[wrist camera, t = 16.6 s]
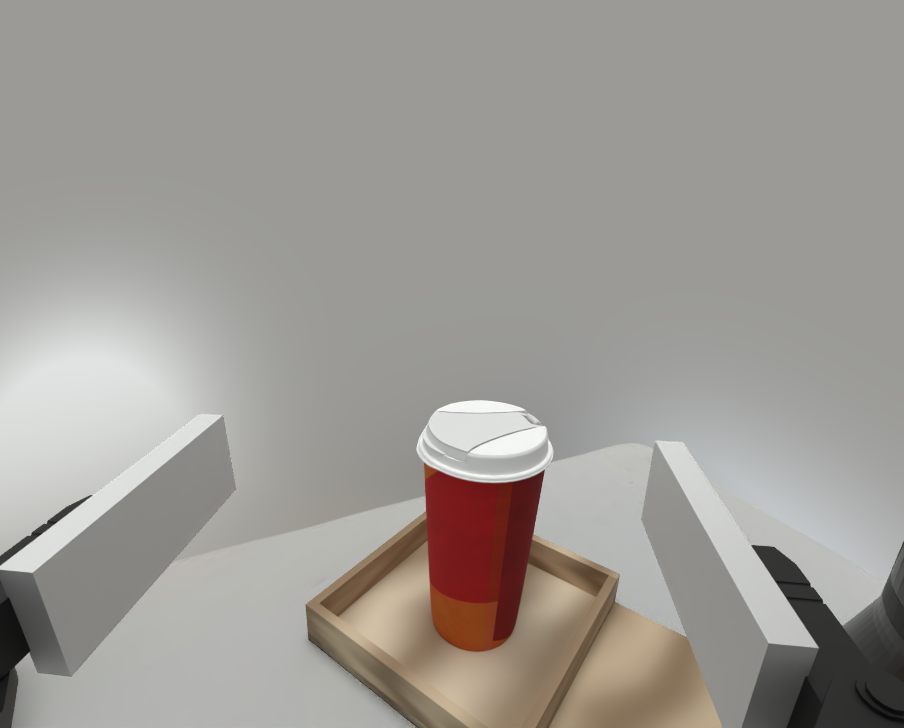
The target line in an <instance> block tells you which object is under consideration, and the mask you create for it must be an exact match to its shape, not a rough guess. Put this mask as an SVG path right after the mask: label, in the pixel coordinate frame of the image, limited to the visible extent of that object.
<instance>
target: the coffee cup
mask: <svg viewBox="0 0 904 728" xmlns="http://www.w3.org/2000/svg"><path fill="white" fill-rule="evenodd" d="M541 424H542V423H541V422H539V421H538V420H537V419H536V418H535V417H534V416H532V415H531V414H528V412H527V411H526V410H525V409H522V408H520V407H517V406H514V405H510V404H506V403H501V402H494V401H464V402H458V403H453V404H450V405H447V406H444V407H442V408H440V409H438V410H437V411H436V412H435V413H434V414H433V415H432V417H431V418H430V419H429V423H428V425H427V427H425V428H424V431H423V432H422V434H421V436H420V438H419V441H418V445H417V448H416V450H417V453H418V455H419V457H420V458H421V459H422V461H423V462H424V469H425V493H426V517H427V540H428V562H429V582H430V600H431V612H432V619H433V623H434V626H435V628H436V630H437V632H438V633H439V634H440V636H441V637H442V638H443V639H444V640H445V641H447V642H448V643H449V644H451V645H453V646H455V647H457V648H459V649H462V650H466V651H474V652H480V651H487V650H491V649H494V648H496V647H498V646H500V645H502V644H503V643H504V642H505V641H506V640H507V639H508V638H509V637H510V636H511V634H512V632H513V630H514V627H515V624H516V620H517V616H518V611H519V606H520V601H521V596H522V591H523V586H524V581H525V575H526V570H527V564H528V559H529V554H530V548H531V543H532V537H533V532H534V526H535V521H536V515H537V510H538V504H539V499H540V493H541V488H542V482H543V477H544V471H545V469H546V468H547V467H548V466H549V464H550V463H551V461H552V458H553V448H552V445H551V443H550V441H549V440H548V433H547V430H546V427H545V426H543V427H542V426H540V425H541Z"/></svg>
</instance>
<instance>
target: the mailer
mask: <svg viewBox="0 0 904 728" xmlns="http://www.w3.org/2000/svg"><path fill="white" fill-rule="evenodd" d="M619 576H620V574H618V573H616V572H614V571H612V570H610V569H607V568H605V567H603V566H601V565H599V564H597V563H594V562H592V561H590V560H588V559H586V558H584V557H581V556H579V555H577V554H575V553H573V552H570V551H568V550H566V549H564V548H562V547H560V546H557V545H555V544H553V543H551V542H549V541H546V540H544V539H542V538H540V537H538V536H536V535H533V537H532V543H531V548H530V554H529V559H528V564H527V570H526V575H525V581H524V586H523V591H522V596H521V601H520V606H519V611H518V616H517V620H516V624H515V627H514V630H513V632H512V634H511V636H510V637H509V638H508V639H507V640H506V641H505V642H504V643H503V644H502V645H500V646H498V647H496V648H494V649H491V650H487V651H480V652H474V651H466V650H462V649H459V648H457V647H455V646H453V645H451V644H449V643H448V642H447V641H445V640H444V639H443V638H442V637H441V636H440V634H439V633H438V632H437V630H436V628H435V626H434V623H433V619H432V612H431V600H430V582H429V562H428V540H427V517H426V512H424V513H423V514H422V515H420V516H419V517H418V518H417V519H415V520H414V521H413V522H411V523H410V524H409V525H408V526H406V527H405V528H404V529H402V530H401V531H400V532H399V533H397V534H396V535H395V536H393V537H392V538H391V539H389V540H388V541H387V542H386V543H384V544H383V545H382V546H380V547H379V548H378V549H377V550H375V551H374V552H373V553H371V554H370V555H369V556H368V557H366V558H365V559H364V560H362V561H361V562H360V563H359V564H357V565H356V566H355V567H353V568H352V569H351V570H349V571H348V572H347V573H346V574H344V575H343V576H342V577H340V578H339V579H338V580H337V581H335V582H334V583H333V584H331V585H330V586H329V587H328V588H326V589H325V590H324V591H322V592H321V593H320V594H319V595H317V596H316V597H315V598H313V599H312V600H311V601H310V602H308V603H307V604H306V615H307V627H308V639H309V640H310V641H312V642H313V643H314V644H315V645H317V646H318V647H319V648H320V649H322V650H323V651H324V652H325V653H326V654H328V655H329V656H330V657H331V658H333V659H334V660H335V661H336V662H338V663H339V664H340V665H341V666H343V667H344V668H345V669H346V670H347V671H349V672H350V673H351V674H352V675H354V676H355V677H356V678H357V679H359V680H360V681H361V682H362V683H364V684H365V685H366V686H367V687H368V688H370V689H371V690H372V691H373V692H375V693H376V694H377V695H378V696H380V697H381V698H382V699H383V700H385V701H386V702H387V703H388V704H389V705H391V706H392V707H393V708H394V709H396V710H397V711H398V712H399V713H401V714H402V715H403V716H404V717H406V718H407V719H408V720H409V721H410V722H412V723H413V724H414V725H415V726H417V727H418V728H722V725H721V723H720V720H719V717H718V715H717V712H716V710H715V707H714V705H713V702H712V699H711V697H710V694H709V692H708V689H707V687H706V684H705V682H704V679H703V676H702V674H701V671H700V669H699V666H698V664H697V661H696V658H695V656H694V653H693V651H692V648H691V646H690V643H689V640H688V638H687V637H685V636H683V635H681V634H679V633H677V632H675V631H672V630H670V629H668V628H666V627H664V626H662V625H660V624H658V623H656V622H654V621H652V620H650V619H648V618H646V617H644V616H642V615H640V614H638V613H636V612H634V611H632V610H630V609H628V608H626V607H624V606H622V605H620V604H618V603H616V602H615V597H616V592H617V587H618V581H619Z"/></svg>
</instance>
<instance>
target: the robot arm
mask: <svg viewBox="0 0 904 728" xmlns="http://www.w3.org/2000/svg"><path fill="white" fill-rule="evenodd" d="M235 490H236V487H235V481H234V475H233V469H232V463H231V458H230V452H229V447H228V441H227V435H226V429H225V424H224V418H223V415H212V414H199V415H198V416H197V417H195V418H194V419H193V420H191V421H190V422H189V423H187V424H186V425H185V426H184V427H182V428H181V429H180V430H178V431H177V432H176V433H174V434H173V435H172V436H170V437H169V438H168V439H166V440H165V441H164V442H162V443H161V444H160V445H158V446H157V447H156V448H154V449H153V450H152V451H150V452H149V453H148V454H147V455H145V456H144V457H143V458H141V459H140V460H139V461H137V462H136V463H135V464H133V465H132V466H131V467H129V468H128V469H127V470H126V471H124V472H123V473H122V474H120V475H119V476H118V477H117V478H115V479H114V480H112V481H111V482H110V483H108V484H107V485H106V486H105V487H103V488H102V489H101V490H99V491H98V492H97V493H95V494H94V495H90V496H88V497H86V498H84V499H82V500H80V501H78V502H76V503H74V504H72V505H69V506H68V507H66V508H65V509H63V510H62V511H60V512H59V513H58V514H56V515H55V516H54V517H52V518H51V519H50V520H48V522H47V524H43V525H42V526H40V527H39V528H37V529H36V530H35V531H33V532H32V535H31V536H27V537H25V538H24V539H23V540H21V541H20V542H19V543H17V544H16V545H15V546H13V547H12V548H11V549H9V550H8V551H7V552H5V553H4V554H2V555H1V556H0V728H11V725H12V718H13V712H14V705H15V699H16V692H17V686H18V676H17V672H16V670H15V666H16V665H17V664H18V663H19V662H20V661H21V660H22V659H23V658H24V657H25V656H26V655H27V654H28V653H29V652H30V655H31V657H32V660H33V662H34V665H35V667H36V670H37V672H38V673H44V674H53V675H62V676H70V677H71V676H72V675H73V674H74V673H75V672H76V671H77V670H78V668H79V667H80V666H81V665H82V664H83V663H84V662H85V661H86V659H87V658H88V657H89V656H90V655H91V654H92V653H93V651H94V650H95V649H96V648H97V647H98V646H99V645H100V643H101V642H102V641H103V640H104V639H105V638H106V637H107V635H108V634H109V633H110V632H111V631H112V630H113V629H114V628H115V626H116V625H117V624H118V623H119V622H120V621H121V620H122V618H123V617H124V616H125V615H126V614H127V613H128V612H129V610H130V609H131V608H132V607H133V606H134V605H135V604H136V602H137V601H138V600H139V599H140V598H141V597H142V596H143V595H144V593H145V592H146V591H147V590H148V589H149V588H150V587H151V585H152V584H153V583H154V582H155V581H156V580H157V579H158V577H159V576H160V575H161V574H162V573H163V572H164V571H165V569H166V568H167V567H168V566H169V565H170V564H171V563H172V562H173V560H174V559H175V558H176V557H177V556H178V555H179V554H180V552H181V551H182V550H183V549H184V548H185V547H186V546H187V544H188V543H189V542H190V541H191V540H192V539H193V538H194V537H195V535H196V534H197V533H198V532H199V531H200V530H201V529H202V527H203V526H204V525H205V524H206V523H207V522H208V521H209V519H210V518H211V517H212V516H213V515H214V514H215V513H216V511H217V510H218V509H219V508H220V507H221V506H222V505H223V504H224V502H225V501H226V500H227V499H228V498H229V497H230V496H231V494H232V493H233V492H234V491H235ZM641 520H642V522H643V525H644V528H645V530H646V533H647V535H648V538H649V540H650V543H651V546H652V548H653V551H654V553H655V556H656V558H657V561H658V563H659V566H660V569H661V571H662V574H663V576H664V579H665V581H666V584H667V587H668V589H669V592H670V594H671V597H672V599H673V602H674V605H675V607H676V610H677V612H678V615H679V617H680V620H681V623H682V625H683V628H684V630H685V633H686V635H687V638H688V640H689V643H690V646H691V648H692V651H693V653H694V656H695V658H696V661H697V664H698V666H699V669H700V671H701V674H702V676H703V679H704V682H705V684H706V687H707V689H708V692H709V694H710V697H711V699H712V702H713V705H714V707H715V710H716V712H717V715H718V717H719V720H720V723H721V725H722V728H904V542H903V544H902V547H901V549H900V551H899V554H898V556H897V559H896V561H895V564H894V566H893V568H892V571H891V573H890V576H889V578H888V580H887V582H886V585H885V587H884V589H883V591H882V594H881V596H880V597H879V598H878V599H876V600H875V601H874V602H873V603H871V604H870V605H869V606H868V607H866V608H865V609H864V610H863V611H861V612H860V613H859V614H857V615H856V616H855V617H854V618H852V619H851V620H850V621H849V622H847V623H846V624H845V625H844V626H842V625H841V624H840V623H839V621H838V620H837V619H836V617H835V616H834V615H833V613H832V612H831V611H830V609H829V608H828V607H827V605H826V604H823V600H822V598H821V597H820V596H819V594H818V593H817V592H816V590H815V589H814V588H812V587H811V586H810V582H809V581H808V580H807V578H806V577H805V576H804V574H803V573H802V572H801V570H800V569H799V568H798V566H797V565H796V564H795V563H794V562H792V561H791V560H790V559H789V558H787V557H786V556H785V555H784V554H782V553H781V552H780V551H779V550H777V549H776V548H775V547H769V546H756V545H750V543H749V542H748V540H747V539H746V537H745V536H744V534H743V532H742V531H741V529H740V528H739V526H738V525H737V523H736V522H735V520H734V519H733V517H732V516H731V514H730V513H729V511H728V510H727V508H726V507H725V505H724V504H723V502H722V501H721V499H720V498H719V496H718V495H717V493H716V492H715V490H714V489H713V487H712V486H711V484H710V483H709V481H708V480H707V478H706V477H705V475H704V474H703V472H702V471H701V469H700V467H699V466H698V464H697V463H696V461H695V460H694V458H693V457H692V455H691V454H690V452H689V451H688V449H687V448H686V446H685V445H684V444H683V442H670V441H655V444H654V450H653V456H652V461H651V467H650V473H649V478H648V484H647V490H646V496H645V501H644V507H643V513H642V518H641Z"/></svg>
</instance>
